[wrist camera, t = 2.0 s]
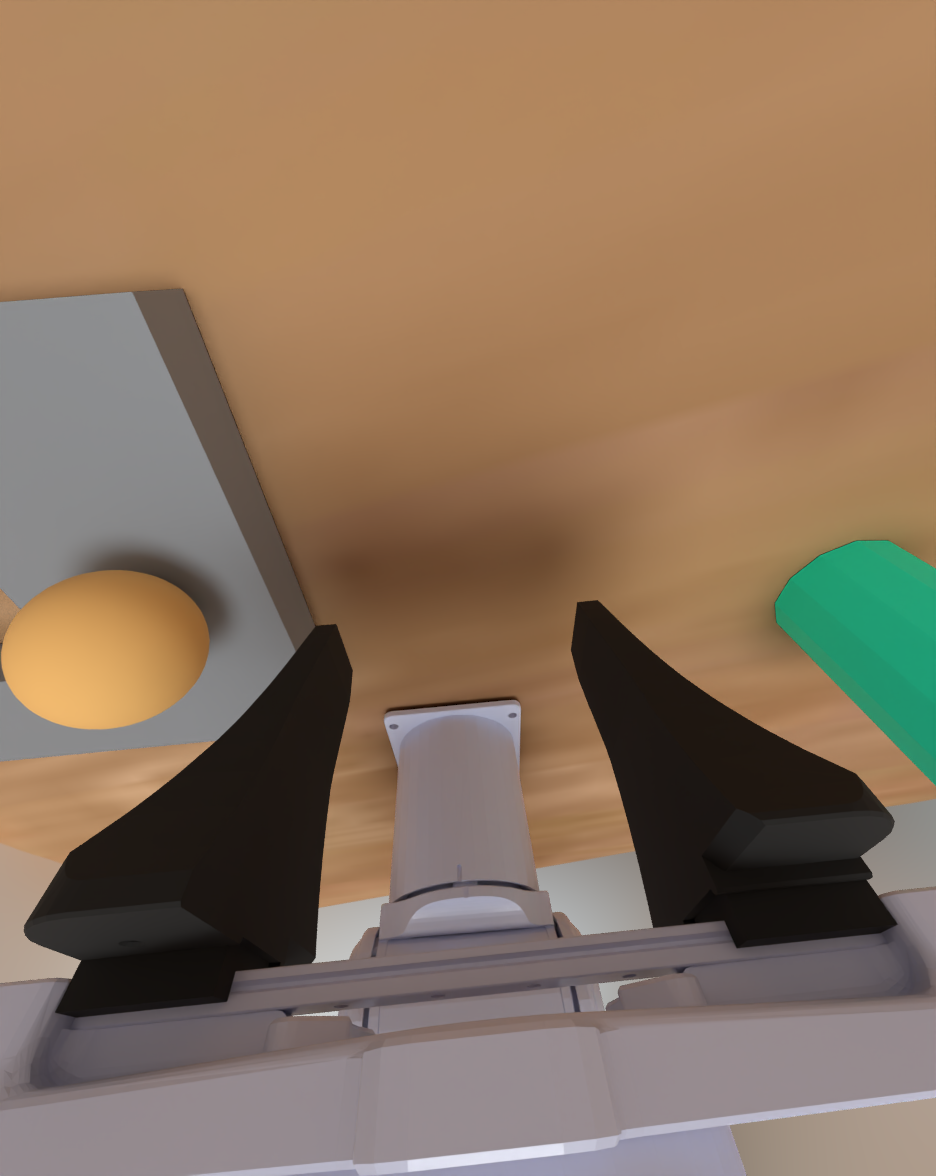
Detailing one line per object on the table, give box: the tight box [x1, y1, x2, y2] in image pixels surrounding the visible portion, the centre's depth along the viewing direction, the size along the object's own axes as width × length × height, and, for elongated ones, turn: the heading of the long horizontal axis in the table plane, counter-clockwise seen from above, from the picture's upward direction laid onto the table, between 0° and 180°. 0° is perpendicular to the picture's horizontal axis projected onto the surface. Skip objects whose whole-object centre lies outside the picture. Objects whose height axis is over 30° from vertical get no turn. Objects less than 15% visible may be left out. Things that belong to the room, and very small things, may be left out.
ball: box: [1, 570, 210, 729], centre depth 13 cm, size 5×5×5 cm
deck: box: [0, 289, 315, 761], centre depth 16 cm, size 18×18×2 cm
